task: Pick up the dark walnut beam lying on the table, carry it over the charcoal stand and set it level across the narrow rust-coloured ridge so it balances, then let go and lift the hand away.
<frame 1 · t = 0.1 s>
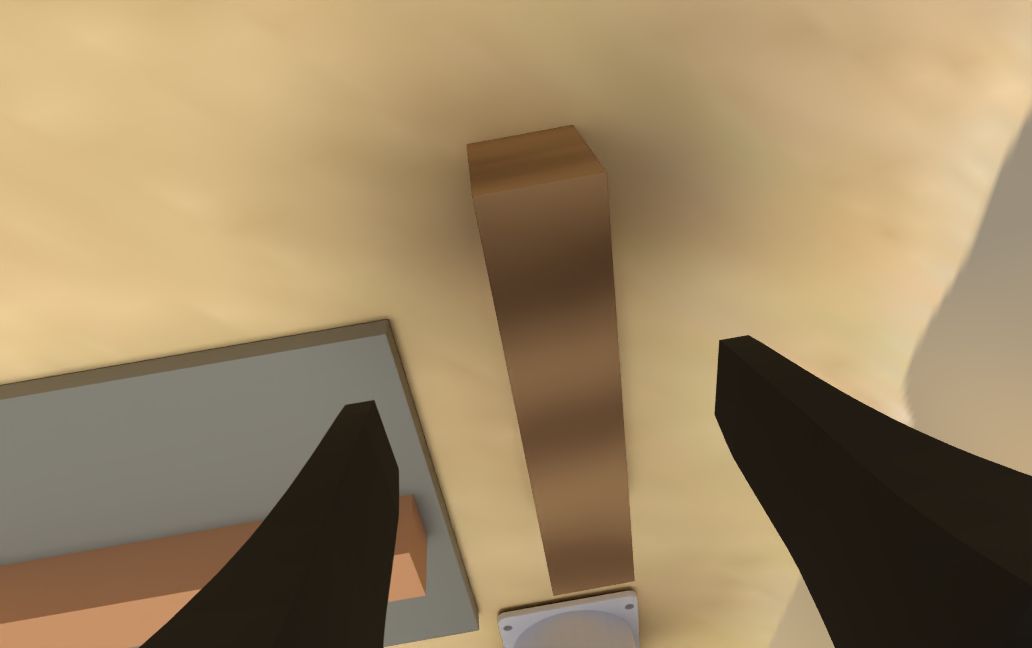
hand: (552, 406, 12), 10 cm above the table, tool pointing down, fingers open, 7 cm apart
walnut beam: (551, 351, 24), on the table
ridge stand: (211, 535, 28), on the table
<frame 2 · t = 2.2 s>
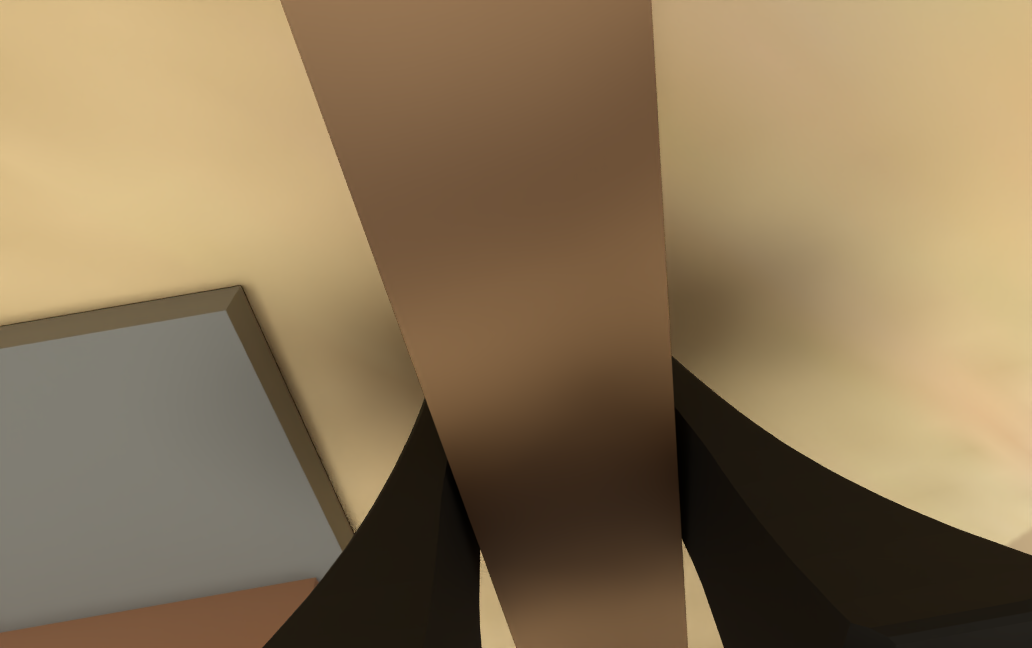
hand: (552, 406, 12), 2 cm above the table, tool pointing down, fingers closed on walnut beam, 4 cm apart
walnut beam: (538, 348, 14), on the table, touching gripper
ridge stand: (8, 634, 18), on the table
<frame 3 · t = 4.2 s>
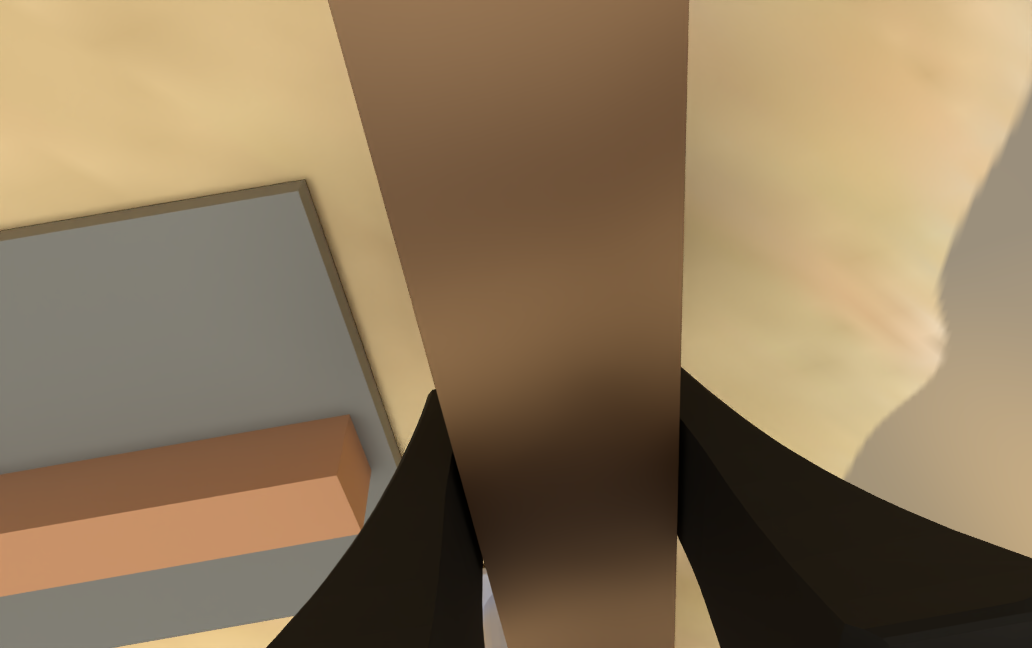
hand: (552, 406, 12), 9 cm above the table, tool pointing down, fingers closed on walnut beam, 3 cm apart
walnut beam: (537, 344, 14), point 6 cm above the table, touching gripper
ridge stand: (114, 468, 23), on the table
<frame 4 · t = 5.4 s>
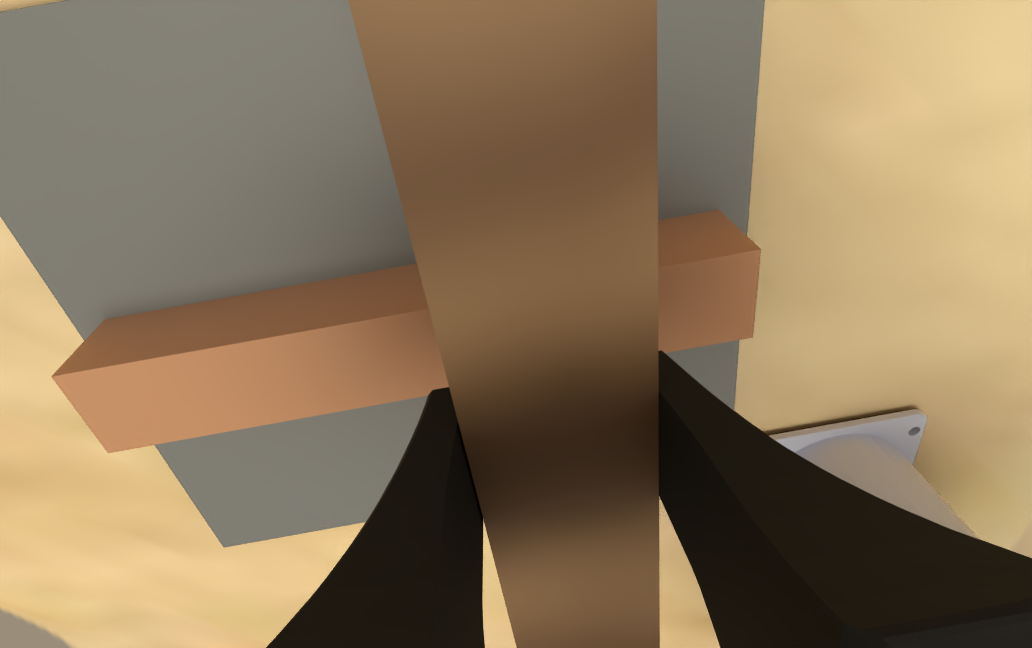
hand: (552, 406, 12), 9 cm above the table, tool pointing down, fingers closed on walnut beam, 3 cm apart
walnut beam: (532, 323, 15), point 5 cm above the table, touching gripper
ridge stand: (424, 289, 20), on the table
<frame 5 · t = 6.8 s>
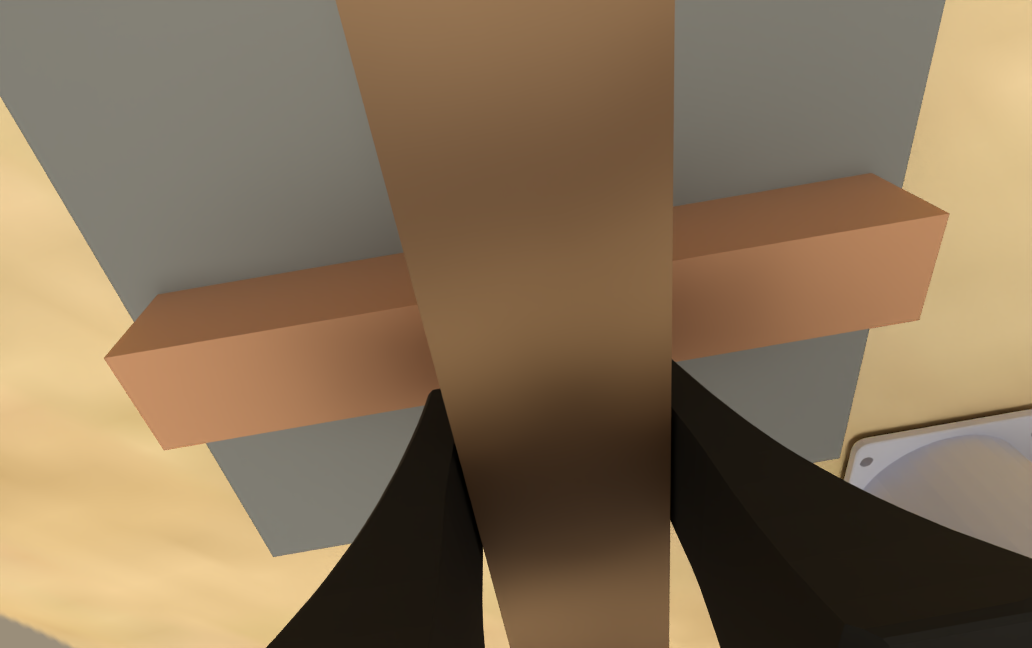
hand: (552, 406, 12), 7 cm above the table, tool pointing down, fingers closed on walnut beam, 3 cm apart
walnut beam: (536, 340, 15), point 4 cm above the table, touching gripper, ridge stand
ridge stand: (519, 264, 18), on the table
when the fingers open (7 cm above the table, at t = 7.5 s): walnut beam stays where it is, resting on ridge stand.
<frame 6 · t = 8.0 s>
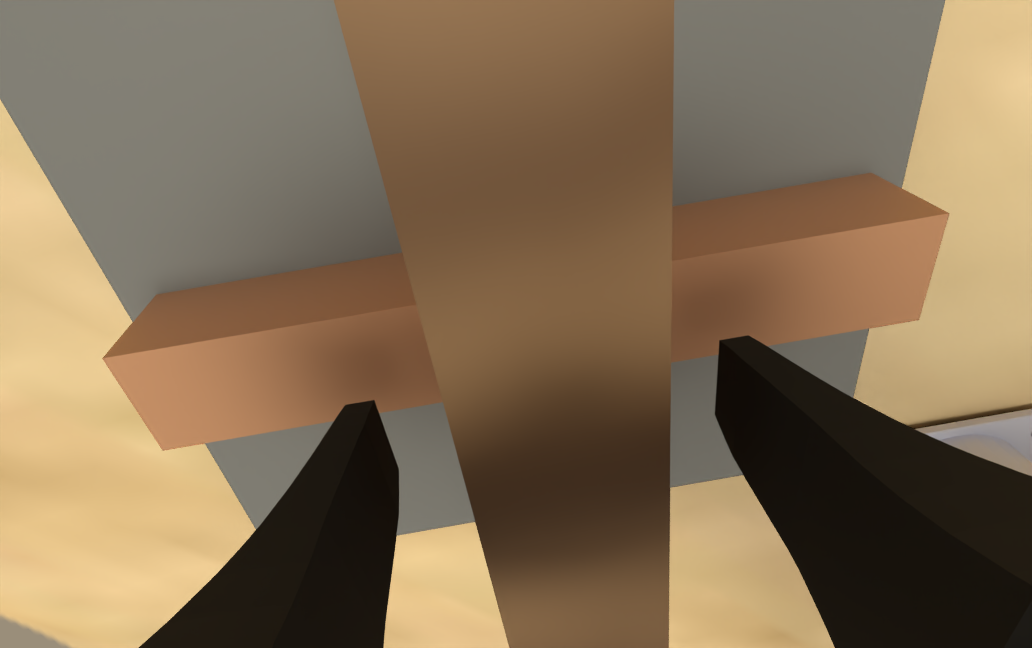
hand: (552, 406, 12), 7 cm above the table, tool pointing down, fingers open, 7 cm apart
walnut beam: (535, 340, 14), point 4 cm above the table, touching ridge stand
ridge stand: (519, 264, 18), on the table
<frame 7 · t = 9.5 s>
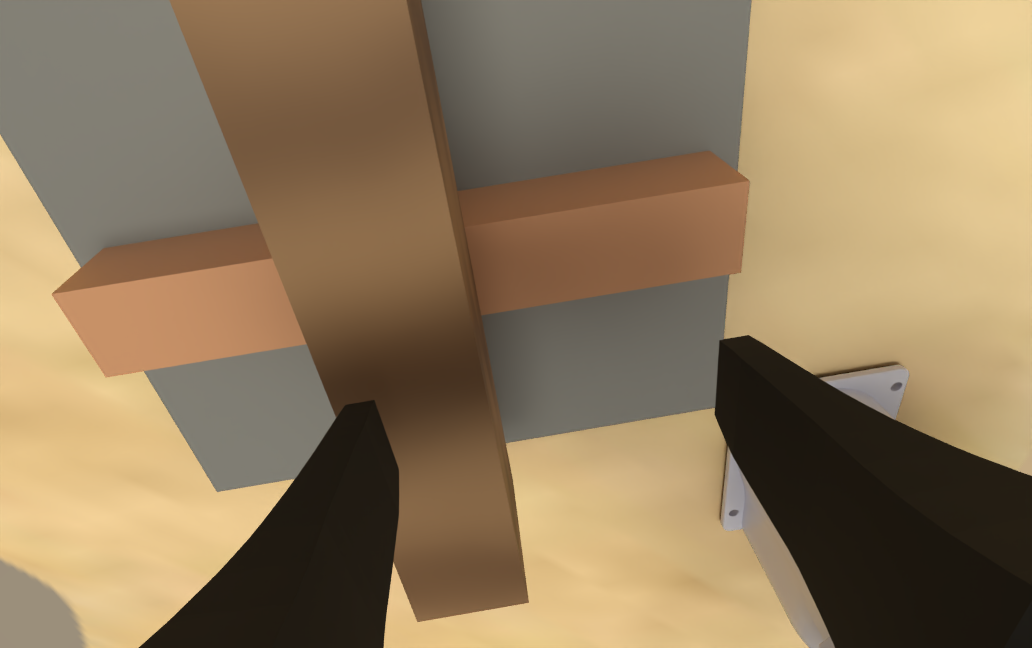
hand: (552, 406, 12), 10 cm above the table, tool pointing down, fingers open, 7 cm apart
walnut beam: (415, 284, 17), point 4 cm above the table, touching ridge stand
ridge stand: (420, 228, 21), on the table
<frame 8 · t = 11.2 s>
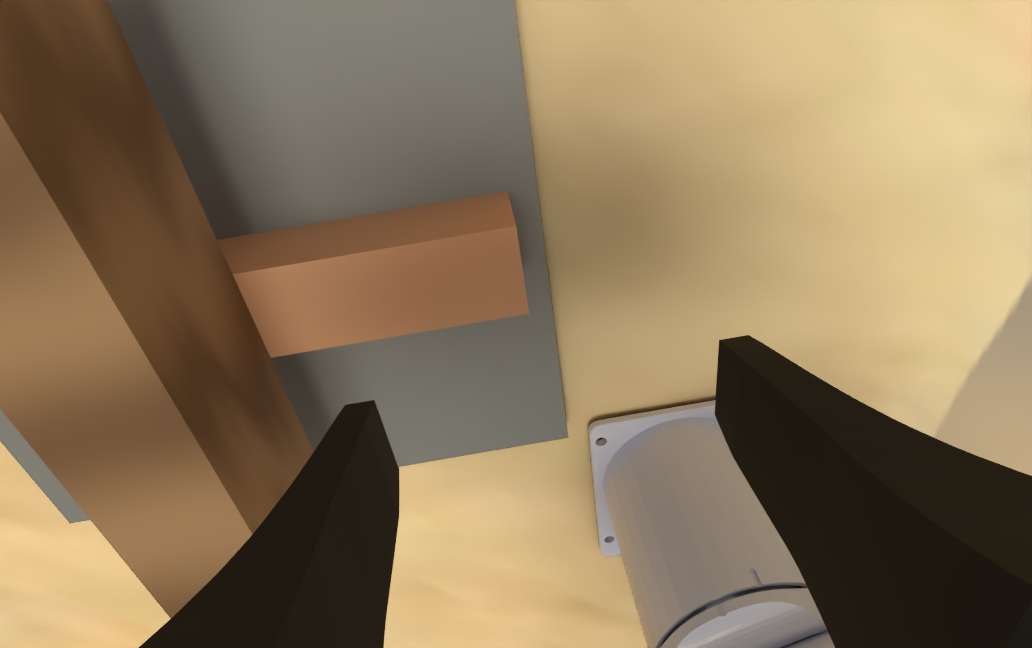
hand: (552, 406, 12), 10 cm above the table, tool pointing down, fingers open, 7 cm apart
walnut beam: (195, 329, 18), point 4 cm above the table, touching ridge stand
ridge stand: (236, 267, 21), on the table
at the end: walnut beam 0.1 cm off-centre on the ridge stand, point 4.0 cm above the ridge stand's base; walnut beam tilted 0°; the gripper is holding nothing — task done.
